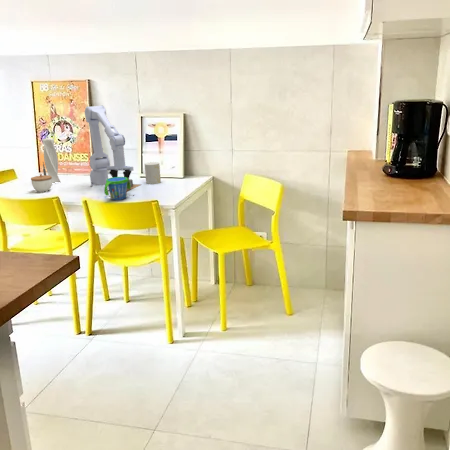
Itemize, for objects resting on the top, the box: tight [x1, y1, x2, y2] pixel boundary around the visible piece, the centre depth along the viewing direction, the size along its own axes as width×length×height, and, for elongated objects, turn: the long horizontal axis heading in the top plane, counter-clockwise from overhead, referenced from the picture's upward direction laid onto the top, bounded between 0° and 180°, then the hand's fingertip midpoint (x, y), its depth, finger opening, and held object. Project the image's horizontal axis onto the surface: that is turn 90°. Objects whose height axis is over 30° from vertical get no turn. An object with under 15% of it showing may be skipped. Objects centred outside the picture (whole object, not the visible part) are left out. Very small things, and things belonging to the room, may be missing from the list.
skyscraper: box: [41, 134, 61, 184], centre depth 287 cm, size 8×8×28 cm
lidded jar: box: [30, 173, 53, 193], centre depth 269 cm, size 11×11×9 cm
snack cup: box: [104, 176, 131, 201], centre depth 245 cm, size 16×10×10 cm
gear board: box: [107, 183, 143, 192], centre depth 264 cm, size 12×18×4 cm, turn 163°
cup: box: [144, 161, 162, 185], centre depth 273 cm, size 8×8×12 cm
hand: (121, 183), depth 260 cm, fingers closed on brass gear, 5 cm apart
